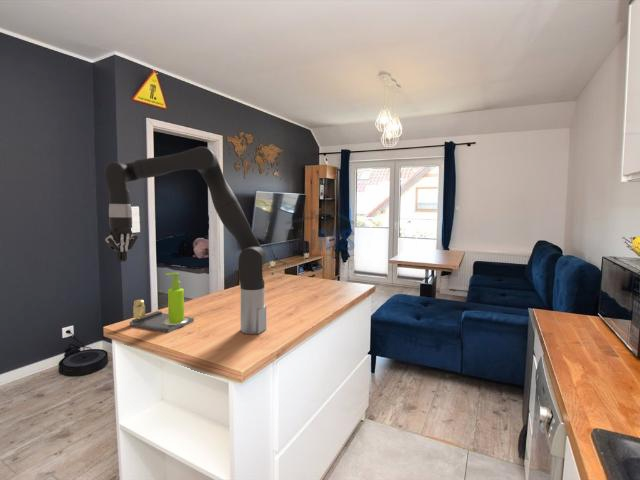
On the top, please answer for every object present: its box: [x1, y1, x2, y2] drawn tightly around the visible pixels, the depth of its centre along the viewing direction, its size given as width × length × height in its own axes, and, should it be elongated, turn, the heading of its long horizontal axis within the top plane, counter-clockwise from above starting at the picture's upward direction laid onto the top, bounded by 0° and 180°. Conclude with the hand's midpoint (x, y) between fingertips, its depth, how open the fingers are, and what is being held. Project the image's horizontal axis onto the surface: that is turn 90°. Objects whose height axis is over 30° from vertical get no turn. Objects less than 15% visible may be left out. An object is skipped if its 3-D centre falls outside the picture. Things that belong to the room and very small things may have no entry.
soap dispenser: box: [164, 272, 185, 323], centre depth 139 cm, size 6×7×20 cm
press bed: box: [129, 310, 195, 333], centre depth 142 cm, size 21×14×2 cm
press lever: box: [132, 299, 146, 319], centre depth 140 cm, size 4×4×7 cm
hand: (122, 261), depth 132 cm, fingers closed
